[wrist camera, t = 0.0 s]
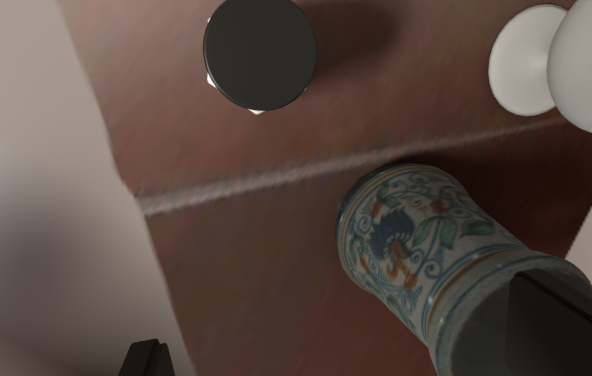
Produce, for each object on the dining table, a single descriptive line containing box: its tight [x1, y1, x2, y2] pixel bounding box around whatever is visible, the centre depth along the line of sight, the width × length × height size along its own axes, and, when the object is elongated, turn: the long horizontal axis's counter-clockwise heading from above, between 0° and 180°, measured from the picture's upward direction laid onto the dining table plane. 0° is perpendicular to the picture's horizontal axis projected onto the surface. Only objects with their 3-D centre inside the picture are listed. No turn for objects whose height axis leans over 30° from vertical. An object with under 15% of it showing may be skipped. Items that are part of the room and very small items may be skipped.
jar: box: [203, 0, 317, 114], centre depth 31 cm, size 9×8×12 cm
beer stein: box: [334, 163, 592, 376], centre depth 33 cm, size 16×19×25 cm
